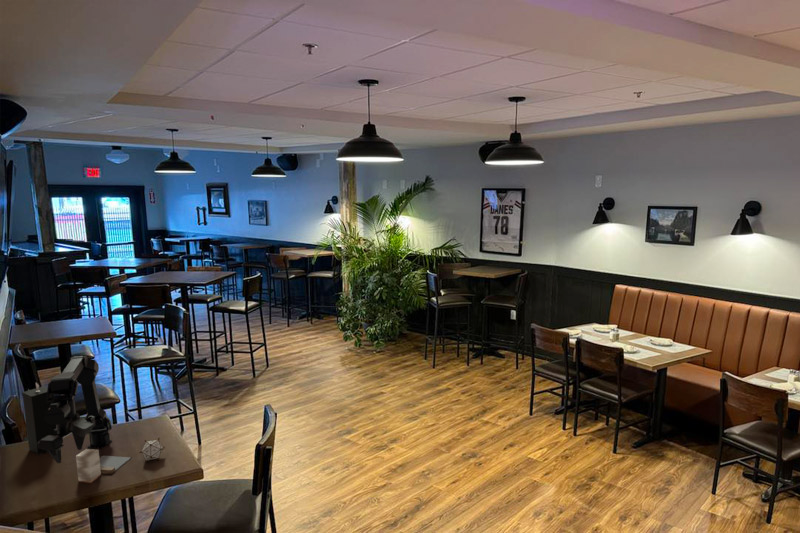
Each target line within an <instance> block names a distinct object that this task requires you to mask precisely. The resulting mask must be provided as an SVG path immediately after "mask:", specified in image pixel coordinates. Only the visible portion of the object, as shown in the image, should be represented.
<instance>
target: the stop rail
mask: <svg viewBox="0 0 800 533" xmlns="http://www.w3.org/2000/svg"><path fill="white" fill-rule="evenodd" d="M100 469H101V474H107V475H112V474H114V473H115V472H116V471H115V467H103V466H100Z"/></svg>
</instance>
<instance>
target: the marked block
mask: <svg viewBox="0 0 800 533" xmlns="http://www.w3.org/2000/svg"><path fill="white" fill-rule="evenodd" d="M99 458H100V450H99V449H96V448H85V449H84V450H81V452H80V453H77V454H76V455H75V461H76V469H77V479H78V482H79V483H88V484H89V483H90V484H91V483H93V482H94V481H96V480H97V479H98V478H99V477H100V476H101V475H102V473H101V469H100V459H99Z"/></svg>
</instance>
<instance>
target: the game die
mask: <svg viewBox="0 0 800 533" xmlns="http://www.w3.org/2000/svg"><path fill="white" fill-rule="evenodd" d="M160 439H161V438H160V437H158V438H157V439H153V440H148V441H147V440H146V439H144V442H145V443H144V445H143V447H142V449H141V450H140V451H139V454H142V456H143V458H144V460H145V461H144V463H146V462H148V461H151V460H158V461H161V458H160V457H161V454H162V452H163V450H164V449H165V448H166V447H165V446H163V445H162V443H161V441H160Z"/></svg>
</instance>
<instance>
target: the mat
mask: <svg viewBox="0 0 800 533" xmlns="http://www.w3.org/2000/svg"><path fill="white" fill-rule="evenodd" d="M99 459H100V466H103V467H115V472H116V471H117V470H118V469H120V468H122V467H123V466H124V465H125V464H126V463H127V462H129V461H130V460H132V457H129V456H128V457H127V456H115V455H114V456H113V455H102V456H99Z"/></svg>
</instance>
